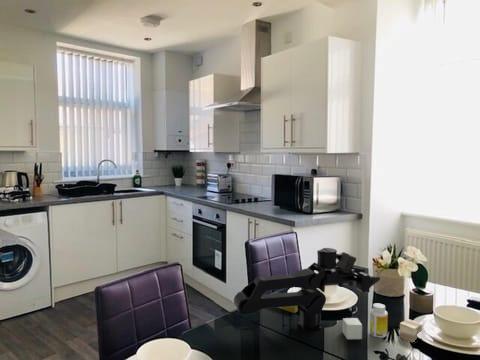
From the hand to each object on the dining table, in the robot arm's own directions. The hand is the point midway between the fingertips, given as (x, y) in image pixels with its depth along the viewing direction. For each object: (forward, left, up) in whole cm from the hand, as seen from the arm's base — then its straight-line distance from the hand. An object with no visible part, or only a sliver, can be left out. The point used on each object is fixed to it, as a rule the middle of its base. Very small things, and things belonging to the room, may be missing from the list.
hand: (371, 274), depth 138 cm
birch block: (+4, -17, -17) cm, 24 cm away
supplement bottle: (-5, -12, -17) cm, 21 cm away
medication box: (-28, +17, -17) cm, 37 cm away
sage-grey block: (-14, -10, -17) cm, 24 cm away
